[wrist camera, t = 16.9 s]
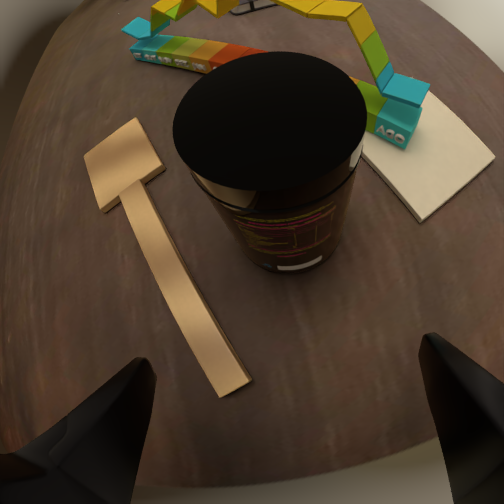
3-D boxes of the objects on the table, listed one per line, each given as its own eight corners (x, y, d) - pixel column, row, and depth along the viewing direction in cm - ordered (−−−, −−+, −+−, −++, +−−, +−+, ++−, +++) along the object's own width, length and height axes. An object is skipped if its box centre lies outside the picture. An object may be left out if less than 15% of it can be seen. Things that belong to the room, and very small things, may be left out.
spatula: (282, 362, 17) (281, 363, 16) (197, 410, 17) (191, 413, 16) (139, 121, 25) (135, 115, 24) (87, 160, 25) (81, 154, 24)
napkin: (492, 160, 18) (495, 156, 17) (419, 223, 18) (422, 220, 17) (410, 81, 21) (411, 76, 21) (327, 122, 21) (327, 117, 21)
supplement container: (318, 165, 20) (315, 37, 10) (359, 254, 18) (406, 152, 8) (224, 198, 21) (162, 86, 11) (254, 292, 18) (192, 225, 9)
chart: (134, 60, 29) (77, -34, 15) (153, 45, 29) (103, -49, 15) (403, 152, 19) (451, -53, 5) (417, 125, 19) (457, -57, 5)
